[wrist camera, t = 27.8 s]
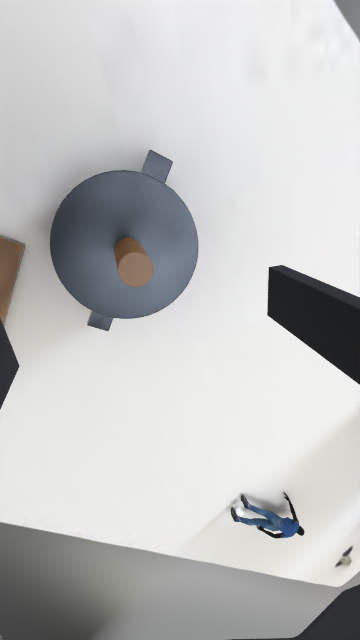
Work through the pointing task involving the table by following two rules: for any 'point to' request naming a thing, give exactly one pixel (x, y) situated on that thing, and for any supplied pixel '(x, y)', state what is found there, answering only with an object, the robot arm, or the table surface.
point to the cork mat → (8, 271)
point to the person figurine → (269, 520)
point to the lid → (124, 244)
